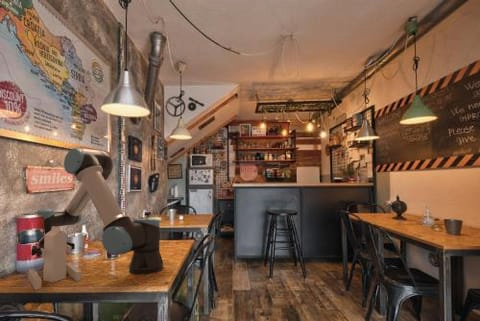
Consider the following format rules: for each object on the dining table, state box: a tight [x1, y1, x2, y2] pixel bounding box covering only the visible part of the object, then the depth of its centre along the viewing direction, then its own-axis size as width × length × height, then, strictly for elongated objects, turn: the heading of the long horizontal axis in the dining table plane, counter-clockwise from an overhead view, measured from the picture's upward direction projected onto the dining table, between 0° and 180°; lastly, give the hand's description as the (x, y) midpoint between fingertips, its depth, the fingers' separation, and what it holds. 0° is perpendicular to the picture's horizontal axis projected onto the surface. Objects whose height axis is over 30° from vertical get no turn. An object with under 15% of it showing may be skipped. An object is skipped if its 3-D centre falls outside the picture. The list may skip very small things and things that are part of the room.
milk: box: [42, 226, 68, 283], centre depth 125 cm, size 6×6×22 cm
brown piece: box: [27, 261, 82, 291], centre depth 125 cm, size 20×16×4 cm
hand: (57, 252), depth 122 cm, fingers open, 9 cm apart
